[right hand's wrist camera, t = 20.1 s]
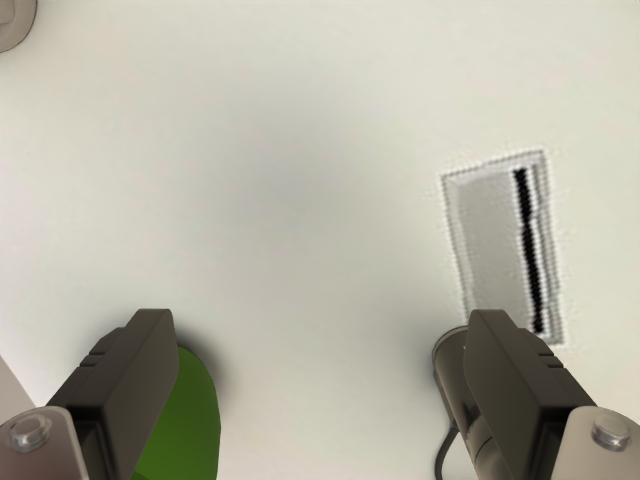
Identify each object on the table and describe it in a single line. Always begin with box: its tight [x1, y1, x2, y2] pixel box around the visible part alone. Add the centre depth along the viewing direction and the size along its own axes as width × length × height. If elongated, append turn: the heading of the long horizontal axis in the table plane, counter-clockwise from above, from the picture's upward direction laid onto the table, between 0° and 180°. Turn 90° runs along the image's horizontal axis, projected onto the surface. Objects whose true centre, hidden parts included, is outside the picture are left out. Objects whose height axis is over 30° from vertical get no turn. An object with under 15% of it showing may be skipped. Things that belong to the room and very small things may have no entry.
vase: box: [130, 346, 221, 480], centre depth 48 cm, size 20×20×24 cm
